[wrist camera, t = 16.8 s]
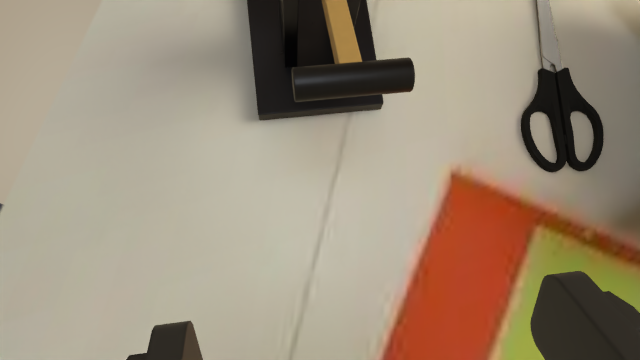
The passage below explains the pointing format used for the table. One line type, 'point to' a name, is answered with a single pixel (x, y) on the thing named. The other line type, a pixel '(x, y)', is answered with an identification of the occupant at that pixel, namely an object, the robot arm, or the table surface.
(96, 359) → the table surface
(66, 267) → the table surface
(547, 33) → the scissors
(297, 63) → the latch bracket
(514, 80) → the table surface
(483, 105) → the table surface
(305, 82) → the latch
